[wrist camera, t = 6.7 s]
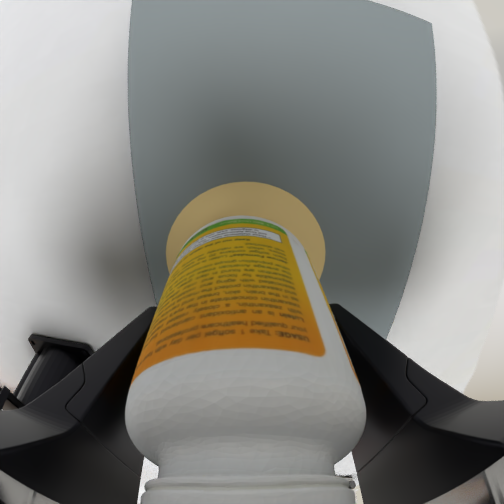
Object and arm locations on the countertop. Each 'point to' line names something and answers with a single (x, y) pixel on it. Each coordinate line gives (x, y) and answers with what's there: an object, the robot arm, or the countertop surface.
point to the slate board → (286, 133)
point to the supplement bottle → (244, 376)
